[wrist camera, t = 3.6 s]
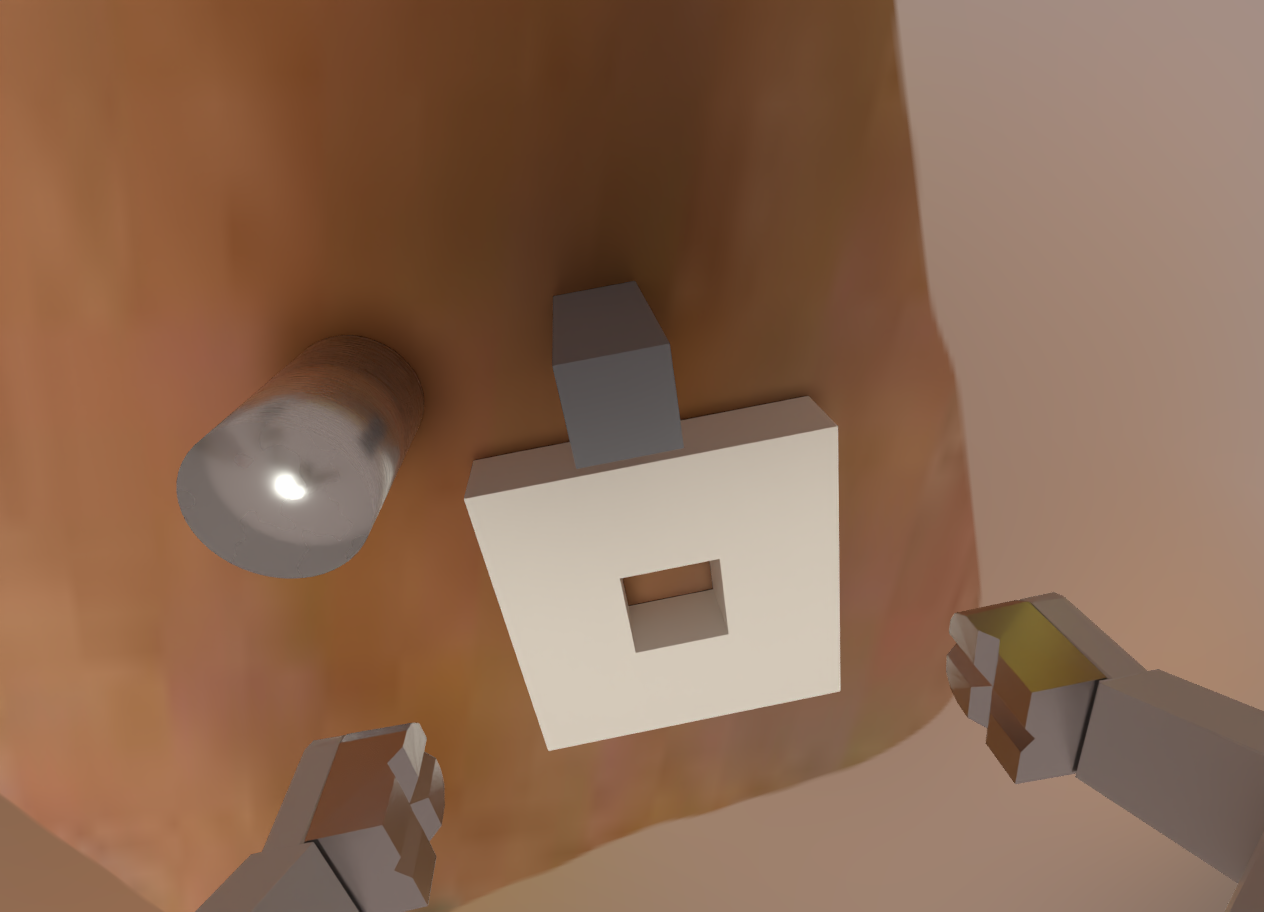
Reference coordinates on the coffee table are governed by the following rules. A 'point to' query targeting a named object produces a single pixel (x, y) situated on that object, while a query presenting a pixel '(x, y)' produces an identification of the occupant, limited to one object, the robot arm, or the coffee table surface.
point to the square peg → (614, 376)
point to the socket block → (663, 539)
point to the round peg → (304, 460)
